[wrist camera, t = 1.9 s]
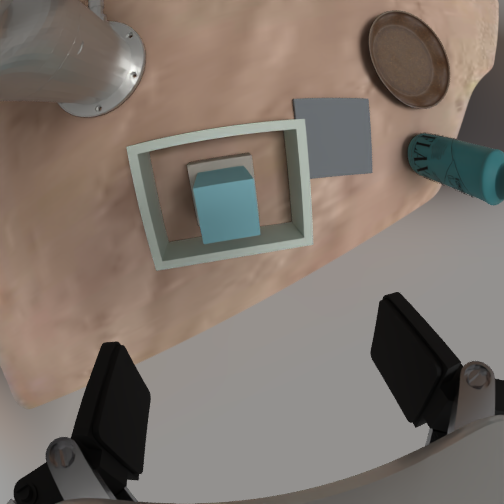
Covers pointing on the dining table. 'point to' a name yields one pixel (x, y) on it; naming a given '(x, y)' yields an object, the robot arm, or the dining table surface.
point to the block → (226, 204)
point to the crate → (297, 165)
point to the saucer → (409, 59)
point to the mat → (336, 135)
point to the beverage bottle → (459, 165)
